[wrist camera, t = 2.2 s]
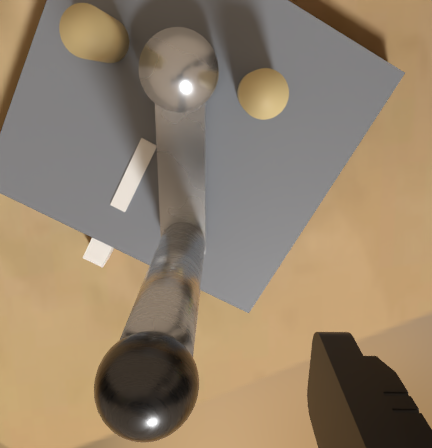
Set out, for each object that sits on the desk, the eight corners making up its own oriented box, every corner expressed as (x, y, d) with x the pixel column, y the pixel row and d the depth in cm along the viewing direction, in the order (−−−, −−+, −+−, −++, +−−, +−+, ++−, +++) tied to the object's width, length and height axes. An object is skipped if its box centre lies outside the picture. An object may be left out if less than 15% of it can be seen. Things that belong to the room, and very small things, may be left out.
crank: (142, 31, 15) (-13, -72, 5) (219, 31, 15) (211, -72, 5) (154, 256, 18) (70, 466, 8) (217, 257, 18) (211, 469, 8)
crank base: (102, -104, 15) (58, -172, 11) (389, 73, 17) (441, 70, 13) (-8, 200, 19) (-70, 231, 15) (234, 316, 21) (237, 372, 17)
